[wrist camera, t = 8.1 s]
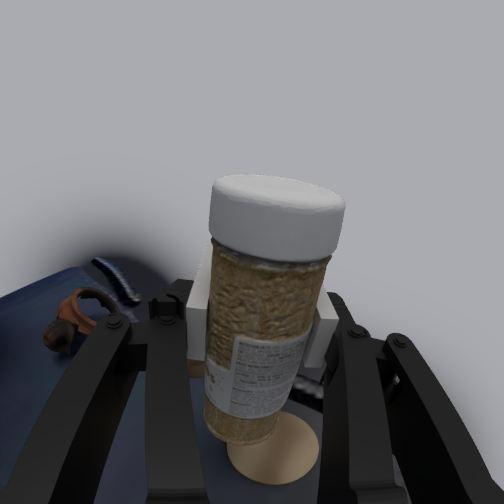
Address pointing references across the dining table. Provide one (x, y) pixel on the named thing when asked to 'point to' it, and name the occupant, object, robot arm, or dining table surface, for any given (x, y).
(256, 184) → the sprinkles bottle
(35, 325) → the dining table surface
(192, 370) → the walnut block
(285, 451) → the cork coaster
